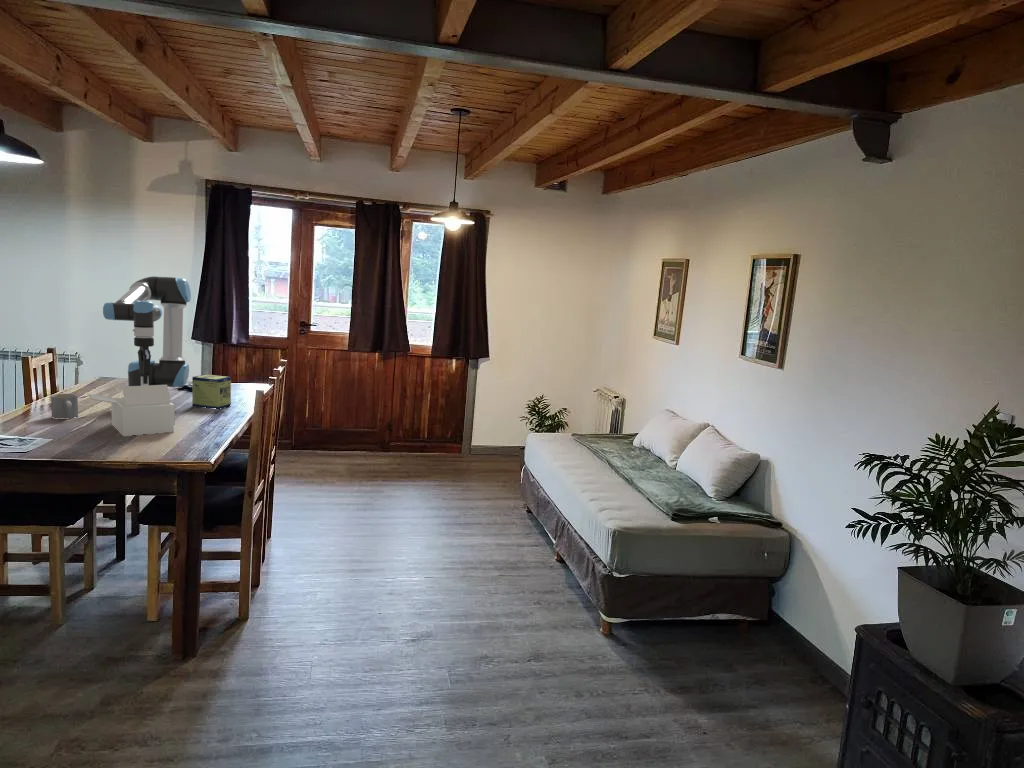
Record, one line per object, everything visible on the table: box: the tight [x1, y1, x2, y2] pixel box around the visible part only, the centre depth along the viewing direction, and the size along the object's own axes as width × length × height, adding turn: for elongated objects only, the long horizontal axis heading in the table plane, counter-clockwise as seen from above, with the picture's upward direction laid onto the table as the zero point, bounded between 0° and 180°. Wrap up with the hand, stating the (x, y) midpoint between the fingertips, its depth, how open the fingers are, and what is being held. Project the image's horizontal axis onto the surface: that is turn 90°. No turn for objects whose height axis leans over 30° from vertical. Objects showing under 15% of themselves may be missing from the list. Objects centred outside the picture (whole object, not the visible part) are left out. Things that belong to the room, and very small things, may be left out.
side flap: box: [86, 393, 118, 404], centre depth 286 cm, size 13×1×9 cm
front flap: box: [121, 385, 172, 406], centre depth 287 cm, size 1×17×9 cm
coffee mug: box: [50, 393, 79, 419], centre depth 305 cm, size 13×10×10 cm
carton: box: [111, 397, 176, 437], centre depth 295 cm, size 24×20×12 cm
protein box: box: [191, 374, 232, 410], centre depth 349 cm, size 10×16×16 cm
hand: (144, 390), depth 298 cm, fingers closed
